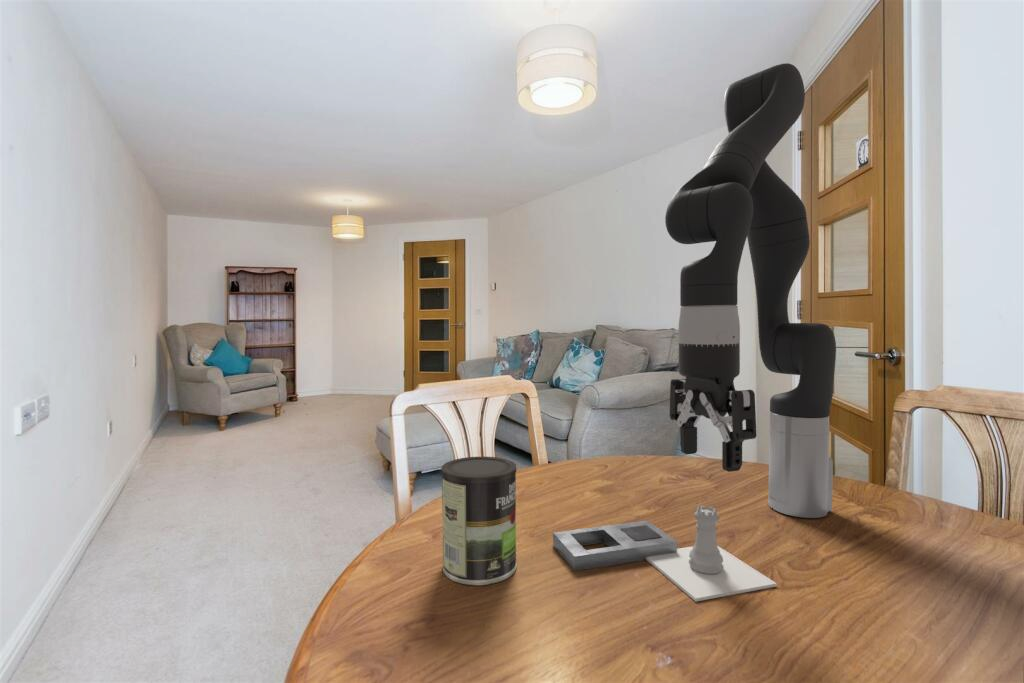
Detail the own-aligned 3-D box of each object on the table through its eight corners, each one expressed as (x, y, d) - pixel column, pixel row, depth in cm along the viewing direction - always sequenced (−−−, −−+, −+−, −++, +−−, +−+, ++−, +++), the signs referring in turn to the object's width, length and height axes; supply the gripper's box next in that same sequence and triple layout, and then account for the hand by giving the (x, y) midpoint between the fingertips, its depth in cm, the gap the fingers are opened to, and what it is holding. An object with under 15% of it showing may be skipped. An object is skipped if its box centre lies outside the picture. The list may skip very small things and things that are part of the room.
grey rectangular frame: (647, 532, 80) (647, 519, 80) (676, 555, 72) (677, 540, 72) (553, 545, 75) (553, 531, 75) (574, 571, 67) (574, 555, 67)
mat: (713, 545, 75) (713, 543, 75) (776, 586, 63) (776, 583, 63) (642, 556, 71) (642, 553, 71) (695, 601, 60) (695, 598, 60)
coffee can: (526, 555, 72) (526, 459, 71) (500, 592, 62) (500, 481, 62) (462, 545, 76) (461, 453, 75) (428, 578, 66) (426, 472, 65)
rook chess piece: (727, 577, 65) (728, 516, 64) (690, 574, 66) (691, 514, 65) (720, 561, 69) (720, 504, 69) (686, 558, 70) (686, 502, 70)
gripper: (774, 341, 60) (773, 474, 61) (698, 337, 74) (698, 445, 75) (721, 344, 58) (722, 481, 59) (653, 339, 72) (654, 450, 72)
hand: (708, 461), depth 67 cm, fingers open, 8 cm apart
